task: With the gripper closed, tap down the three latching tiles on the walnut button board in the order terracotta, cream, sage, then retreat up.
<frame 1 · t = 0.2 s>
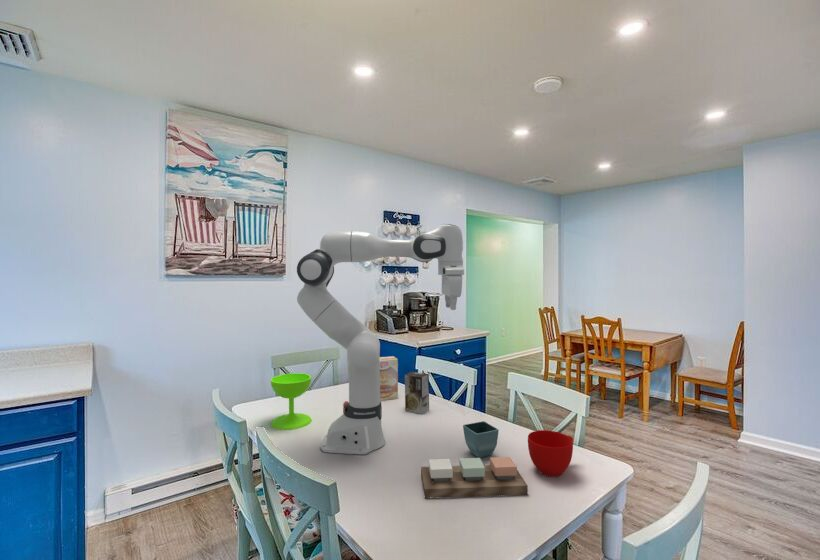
hand: (450, 308, 141), 48 cm above the table, tool pointing down, fingers open, 8 cm apart
flower pot: (480, 454, 132), on the table
wineglass: (291, 422, 161), on the table
coffee box: (417, 411, 174), on the table
button board: (471, 484, 112), on the table
terracotta tile: (503, 470, 113), point 4 cm above the table, slide at 0.0 cm
coffeecake box: (381, 399, 191), on the table
cream tile: (440, 472, 112), point 4 cm above the table, slide at 0.0 cm
sage tile: (471, 471, 112), point 4 cm above the table, slide at 0.0 cm
ceramic cup: (554, 470, 121), on the table
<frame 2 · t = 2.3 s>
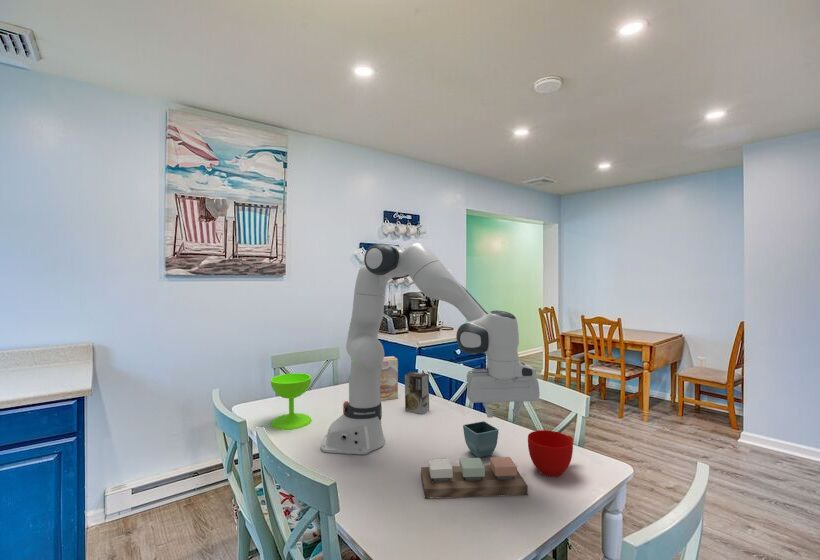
hand: (503, 416, 113), 19 cm above the table, tool pointing down, fingers open, 6 cm apart
nothing on the table moved.
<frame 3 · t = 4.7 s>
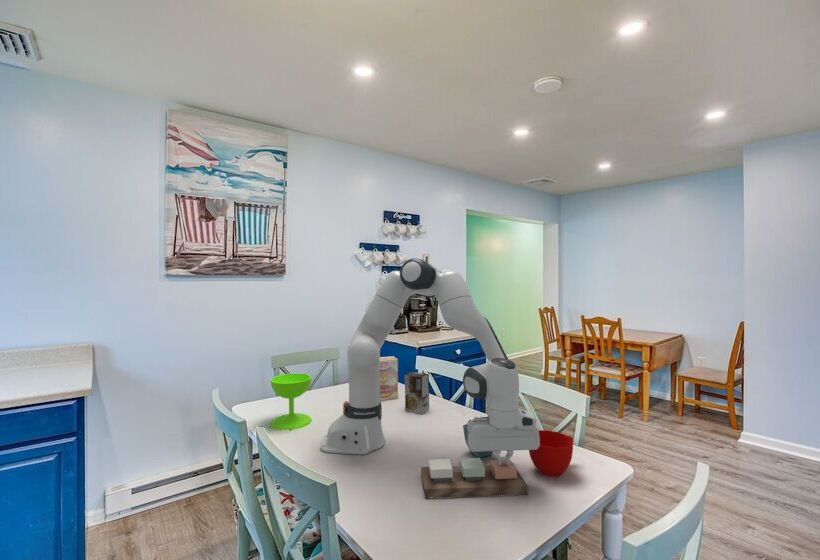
hand: (503, 464, 113), 5 cm above the table, tool pointing down, fingers closed, pressing on terracotta tile
terracotta tile: (503, 473, 113), point 3 cm above the table, slide at -0.8 cm, touching gripper
everything else where it was.
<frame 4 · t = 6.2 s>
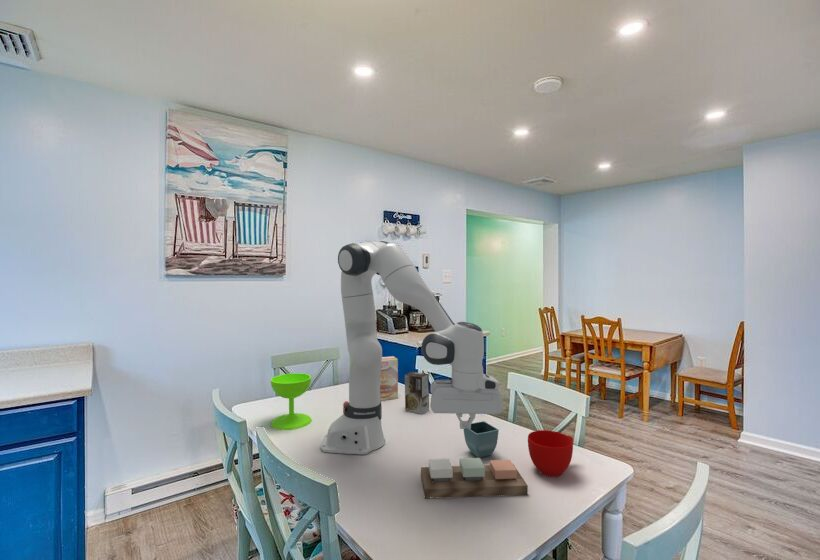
hand: (465, 428, 113), 16 cm above the table, tool pointing down, fingers closed
terracotta tile: (503, 473, 113), point 3 cm above the table, slide at -0.8 cm
everything else where it was.
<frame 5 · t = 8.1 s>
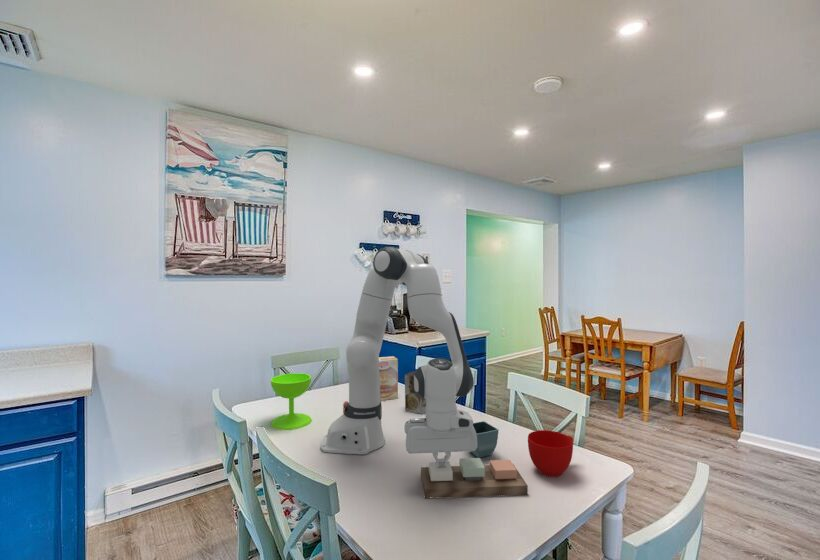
hand: (441, 466, 112), 5 cm above the table, tool pointing down, fingers closed, pressing on cream tile
cream tile: (440, 475, 112), point 3 cm above the table, slide at -0.8 cm, touching gripper
everything else where it was.
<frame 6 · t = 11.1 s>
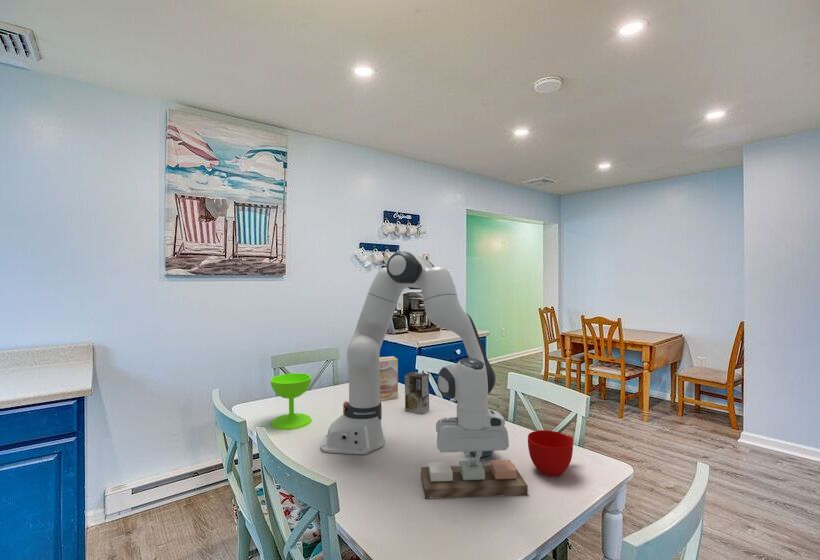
hand: (472, 465, 112), 5 cm above the table, tool pointing down, fingers closed, pressing on sage tile
cream tile: (440, 475, 112), point 3 cm above the table, slide at -0.9 cm
sage tile: (471, 474, 112), point 3 cm above the table, slide at -0.8 cm, touching gripper
everything else where it was.
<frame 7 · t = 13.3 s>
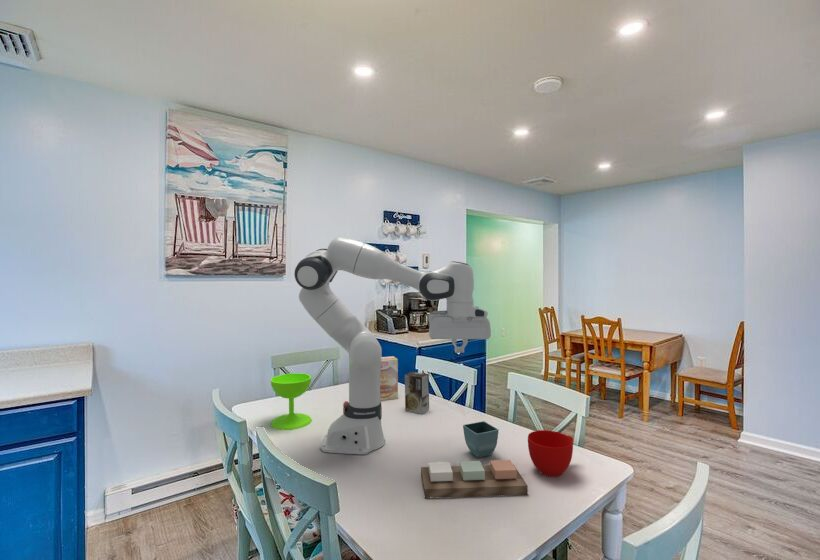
hand: (459, 352, 131), 34 cm above the table, tool pointing down, fingers closed
sage tile: (471, 474, 112), point 3 cm above the table, slide at -0.9 cm
everything else where it was.
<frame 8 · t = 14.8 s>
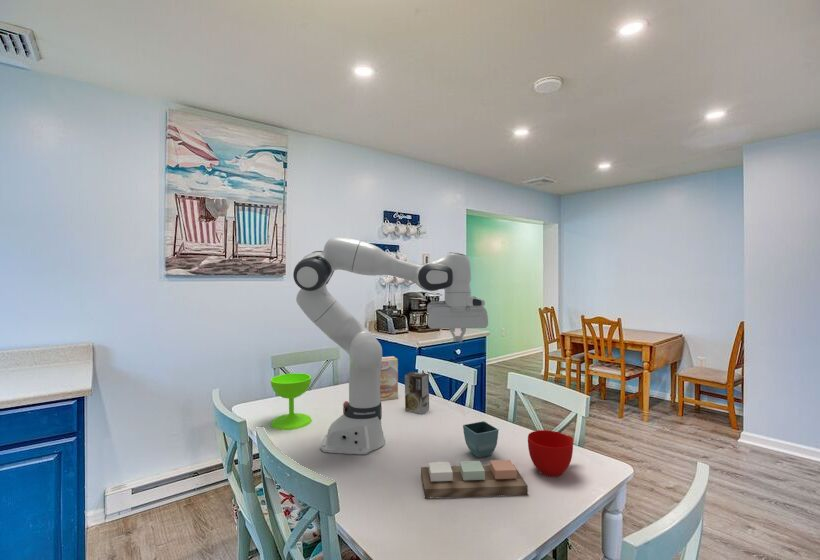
hand: (457, 341, 134), 37 cm above the table, tool pointing down, fingers closed
nothing on the table moved.
at the end: terracotta tile slide at -0.8 cm; cream tile slide at -0.9 cm; sage tile slide at -0.9 cm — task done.
